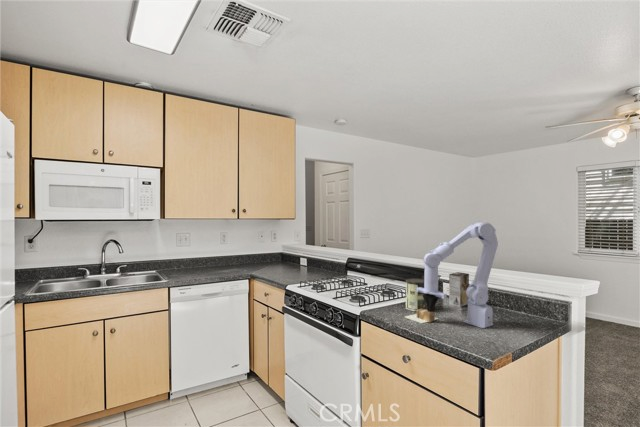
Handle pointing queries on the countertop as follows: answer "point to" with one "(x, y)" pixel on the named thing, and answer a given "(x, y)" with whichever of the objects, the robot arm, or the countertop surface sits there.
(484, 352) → the countertop surface
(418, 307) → the coffee can
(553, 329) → the countertop surface
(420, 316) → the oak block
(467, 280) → the coffee box
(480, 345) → the countertop surface
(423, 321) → the felt mat
